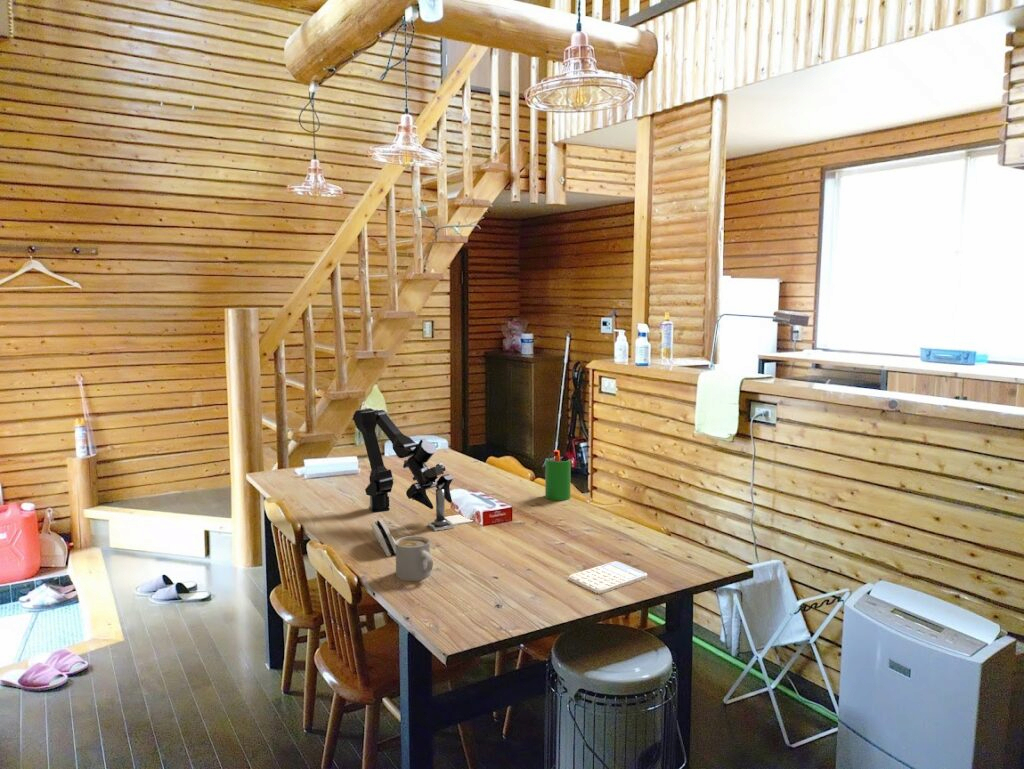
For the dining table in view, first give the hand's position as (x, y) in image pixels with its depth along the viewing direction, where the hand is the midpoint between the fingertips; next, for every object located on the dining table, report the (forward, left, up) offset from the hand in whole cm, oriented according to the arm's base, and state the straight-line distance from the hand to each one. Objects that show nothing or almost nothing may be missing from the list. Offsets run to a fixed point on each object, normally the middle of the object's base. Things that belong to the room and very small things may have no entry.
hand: (442, 505), depth 249 cm
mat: (+9, +5, -8) cm, 13 cm away
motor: (+55, +13, -8) cm, 57 cm away
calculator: (+26, -65, -9) cm, 70 cm away
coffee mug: (-23, -38, -8) cm, 45 cm away
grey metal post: (0, +1, -8) cm, 8 cm away
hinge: (-24, -10, -8) cm, 27 cm away
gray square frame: (0, +1, -8) cm, 8 cm away
